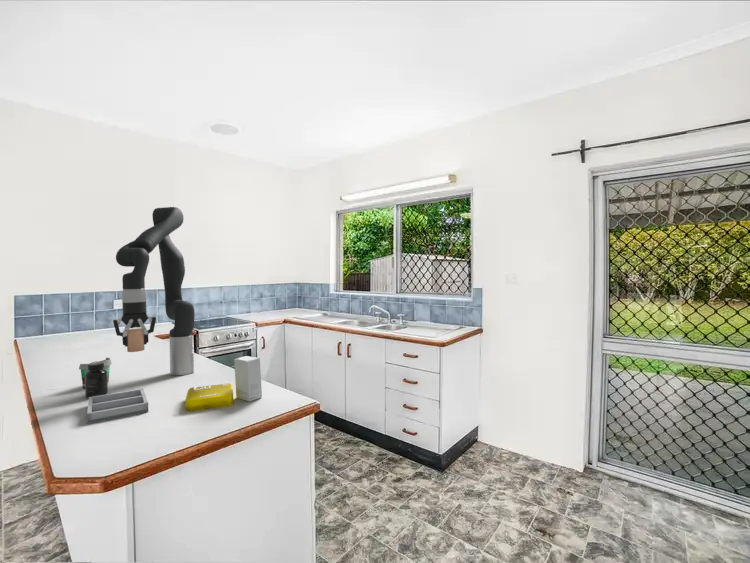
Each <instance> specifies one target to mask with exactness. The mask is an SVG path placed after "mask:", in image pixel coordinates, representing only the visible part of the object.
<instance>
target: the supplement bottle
mask: <svg viewBox="0 0 750 563" xmlns="http://www.w3.org/2000/svg"><path fill="white" fill-rule="evenodd" d="M91 363H92V362H91ZM88 364H89V365H88V370H89V371H88V372H87V373H86V374H85V388H84V391H85V392H84V394H85V397H86V398H87V399H89V397H93V396H99V395H106V394H109V393H108V392H109V391H108V390H109V385H108V384H109V382H108V378H107V371H106V370H105V369H103V368H104V363H102V362H99V363H92V364H90V363H88Z"/></svg>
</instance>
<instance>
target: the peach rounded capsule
mask: <svg viewBox="0 0 750 563" xmlns="http://www.w3.org/2000/svg"><path fill="white" fill-rule="evenodd" d="M145 349H146V348H145V345H144V331H143V329H142V328H141V327H135V328H130V329H129V331H128V333H127V347H126V351H127V352H128V353H135V352H136V353H137V352H142V351H145Z"/></svg>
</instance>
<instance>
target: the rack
mask: <svg viewBox="0 0 750 563" xmlns="http://www.w3.org/2000/svg"><path fill="white" fill-rule="evenodd" d="M87 401H88V403H87V411H86V413H87V414H86V416H87V417H86V419H87V421H86V422H87V423H86V424H87V425H89V424H92V423H94V424H95V423H97V422H105V421H109V420H114V419H119V418H124V417H129V416H134V415H139V414H144V413H149V401H148V399H147V396H146V393H145V389H144V388H139V389H138V388H137V389H132V390H125V391H119V392H112V393H107V394H106V395H99V396H93V397H89V398H88V400H87Z"/></svg>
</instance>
